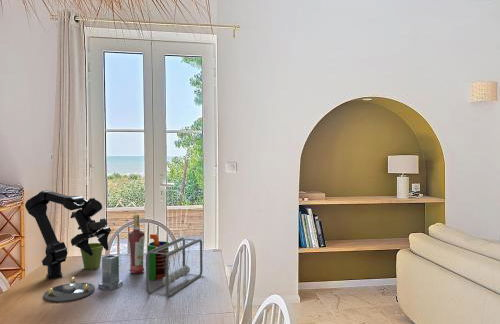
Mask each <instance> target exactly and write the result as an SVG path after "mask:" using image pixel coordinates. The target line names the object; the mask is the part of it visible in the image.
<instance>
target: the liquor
mask: <svg viewBox="0 0 500 324" xmlns="http://www.w3.org/2000/svg"><path fill="white" fill-rule="evenodd" d="M128 246H129V247H128V248H129V263H130V269H129V272H130V274H133V275H140V274H142V273H143V272H144V271H145V268H144V255H145V253H144V251H145V233H144V232H143V231H142V230H140V214H138V213H137V214H133V229H132V231H130V232H129V233H128Z"/></svg>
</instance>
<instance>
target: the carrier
mask: <svg viewBox="0 0 500 324" xmlns="http://www.w3.org/2000/svg"><path fill="white" fill-rule="evenodd" d="M69 279H70V282H69V283H68V282H66V283H65V284H60V285H57V286H54V287H48V288H47V290H46V291H45V292H44V294H43V298H44V300H45V301H47V302H52V303H66V302H73V301H74V302H75V301H78V300H82V299H84V298H87V297H89V296H91V295H92V294H93V293H94V292H96V286H95V285H94V284H92V283H91V282H90V283H89V282H76V276H71V277H70V278H69Z"/></svg>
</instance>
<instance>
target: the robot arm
mask: <svg viewBox="0 0 500 324" xmlns="http://www.w3.org/2000/svg"><path fill="white" fill-rule="evenodd" d="M50 202H52V203H56V204H58V205H59V204H60V205H62V206H63V207H64V208H65V209H67V210H69V211H72V212H71V214H70V219H75V221H76V223H77V224H78V225H77V226H78V227H77V230H78V231H79V230H81V233H78V234H76V235H75V236H74V237H72V238H71V239H70V244H71V246H72V247H76V248H79V249H82V250H83V251H85V252H86V253H87V254H89V255H90V256H92V255H93V253H92V250H91V248H90V246H89V243H90V242H89V241H90V239H92V238H98V239H97V241H98V243H101V245H102V246H103V249H104V250H105V251H109V240H108V239H109V235H110V234H111V233H112V229H111V227H109V226H107V225H108V220H107V219H106V218H104V217H103V218H100V219H99V221H96V220H95V219H92V217H94V216H95V215H96V214H98V213H99V212H100V211H101V210H103V204H102V203H101V202H100V200H98V199H96V198H95V197H90V198H89V199H88V200H86V199H85V198H84V197H83V196H82V195H81V196H80V195H66V194H63V193H59V192H55V191H52V190H51V189H49V190H47V189H46V190H42V191H39V193H37V194H36V195H34V196H32V197H30V198H29V199H27V200H26V202H25V203H24V206H25V210H26V211H27V213H28V214H29V215H30V216H31V217H33V218H34V219H35V221H36V224H37V226H38V229H39V231H40V233H41V236H42V238H43V240H44V243H45V244H46V247H45V256H44V257H43V259H42V260H41V262H42V266H44V267H47V268H46V269H47V273H46V280H52V279H59V278H63V272H62V263H64V262H66V260H67V256H68V253H69V252H68V248H67V246H66V243H65V242H64V241H61V242H60V241H59V240H58V238H57V236H56V233H55V231H54V229H53V227H52V224H51V222H50V220H49V218H48V214H47V211H48V204H49V203H50ZM75 210H76V211H75Z"/></svg>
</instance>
